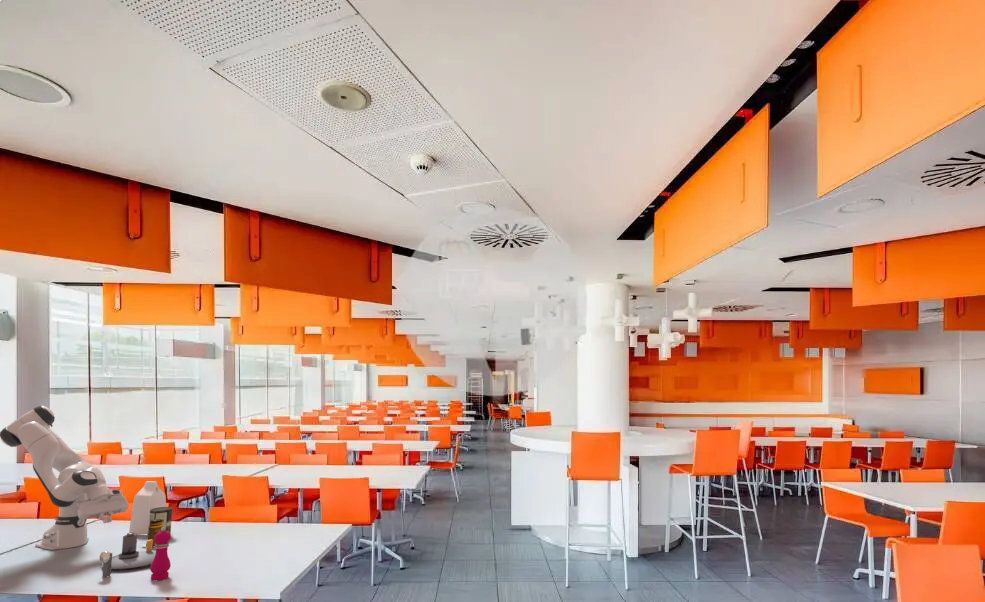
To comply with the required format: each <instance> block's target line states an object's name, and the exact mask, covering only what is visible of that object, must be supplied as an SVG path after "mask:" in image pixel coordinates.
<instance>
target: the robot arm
mask: <svg viewBox="0 0 985 602" xmlns="http://www.w3.org/2000/svg"><path fill="white" fill-rule="evenodd" d="M54 422H55V413H54V412H53V410H52V409H50V407H47V406H45V405H38V406H36V407H33V409H31V410H29V411H28V412H26V413H24V414H22V415H21V416H19V417H18V418H17V419H15V420H14V421H13V422H11V423H10V424H9V425H8V426H5V427H4V428H3V429H2V430H1V431H0V441H1V442H2V443H3V444H4V445H5V446H8V447H11V448H16V447H18V446H21V445H22V446H23V448H25V450H26V451H27V452H28V454H30V457H31V459H32V460H31V461H32V468H33V469H32V470H33V471H34V473H35V474H36V476H37V478H38V479H39V481H40V483H41V484H42V486H43V487H44V489H45V491H46V493H47V494H48V497H49V500H50V502H51V503H52V504H53V506H55V507H57V508H59V510H58V516H56V517H54V521H55V522H54V524H53V525H52V526H50V528H48V529H46V531H45V532H43V534H42V538H41V541H39V542H37V543H36V544H35V547H36V548H41V549H44V550H50V551H53V550H62V549H68V548H75V547H79V546H83V545H84V546H85V545H86V544H87V543H89V537H88V523H86V522H87V519H94V518H98V519H99V520H101V521H102V522H103V524H107V523H112V521H113V519H112V516H113V515H115V514H121V513H125V512H127V510H129V509H128V508H129V507H130V506H129V503H128V500H127V499H126V497H125V495H123V491H122V490H121V489H111V488H109V486H107V480H106V478H105V476H104V474H103V473H102V471H101V469H99V468H98V467H94V466H93V465H92V464H91V463H89V462H88V461H87V460H85V459H84V458H83V457H82V456H80V454H78V453H76V452H75V451H74V450H73V449H72V448H70V447H69V445H68V444H67V443H66V442H65V441H64V440H63V439H62V438H61V437H60V436H59V435H58V434H57V433H55V431H53V430H52V429H51V428H53V427H54V425H53V424H54ZM49 426H50V427H51V428H49ZM53 469H55V470H56V472H58V473H59V475H58V477H57V476H56V475H55V473H54V471H53ZM106 516H107V517H106Z"/></svg>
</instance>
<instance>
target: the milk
mask: <svg viewBox="0 0 985 602" xmlns="http://www.w3.org/2000/svg"><path fill="white" fill-rule="evenodd" d="M166 496H167V495H166V493H165V492H164V491H163V490H162V489H161V488H160V487H159V485H158V481H151V480H150V481H149V480H148V481H145V482H144V485H143V487H142V488H141V489H140V490H139V491H138V492H137V493H136V494H135V495H134V498H133V502H132V510H131V517H130V522H129V523H130V524H129V531H128V533H134V534H147V535H146V536H148V529H149V518H150V510H151V509H154V508H159V507H166Z"/></svg>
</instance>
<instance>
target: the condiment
mask: <svg viewBox="0 0 985 602" xmlns="http://www.w3.org/2000/svg"><path fill="white" fill-rule="evenodd" d="M162 527H163V525H162V519H153V520H151V521H150V526H149V529H148V535H147V540H151V539H152V540H153V544H152V546H155V544H156V542H155V541H154V537H155V535H156V534H157V533H158V532H160V531H161V528H162Z"/></svg>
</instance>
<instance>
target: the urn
mask: <svg viewBox="0 0 985 602" xmlns="http://www.w3.org/2000/svg"><path fill="white" fill-rule="evenodd" d="M137 542H138V535H137V534H134V533H129V532H128V533H126V535H123V537H122V548H121V553H119V554H118V555H119V559H132V558H135V557H138V556H139V552H138V551H139V550H138V551H137V544H138V543H137Z"/></svg>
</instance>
